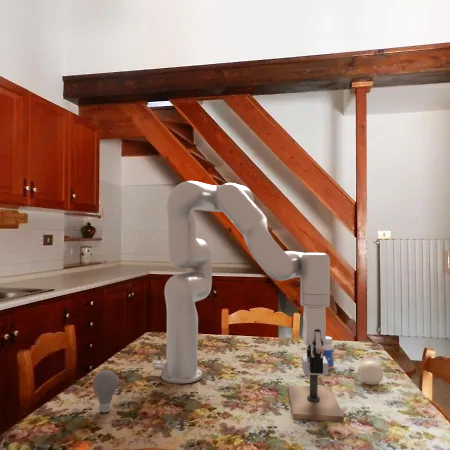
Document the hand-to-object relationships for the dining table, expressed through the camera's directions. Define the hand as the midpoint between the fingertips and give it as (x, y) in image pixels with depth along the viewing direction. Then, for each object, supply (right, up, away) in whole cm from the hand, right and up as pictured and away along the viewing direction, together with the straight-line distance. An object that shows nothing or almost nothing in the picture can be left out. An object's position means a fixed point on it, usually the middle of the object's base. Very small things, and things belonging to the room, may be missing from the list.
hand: (314, 367), depth 106 cm
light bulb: (-53, -9, -7) cm, 54 cm away
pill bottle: (+10, -10, +30) cm, 33 cm away
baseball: (+20, -10, +15) cm, 27 cm away
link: (0, -1, 0) cm, 1 cm away
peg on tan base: (0, -9, 0) cm, 9 cm away
